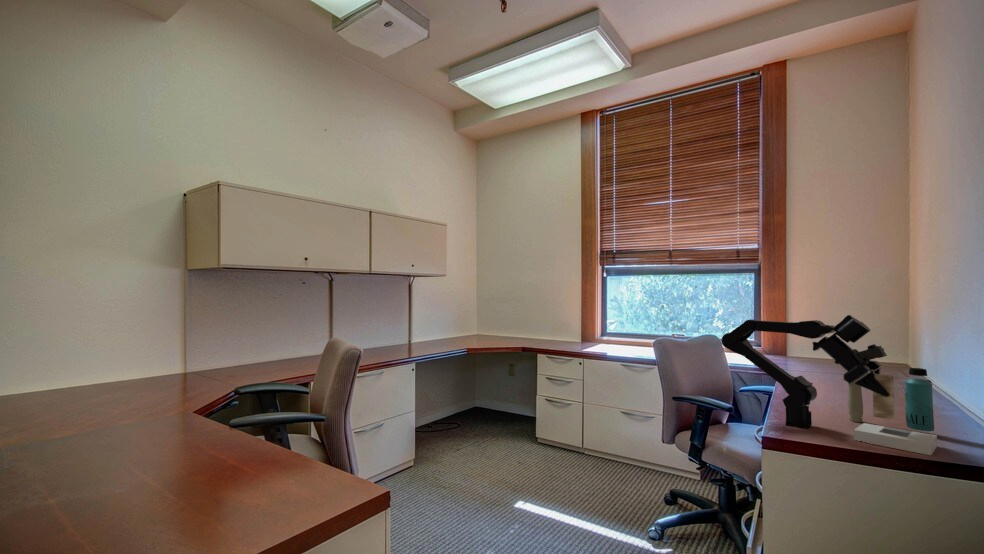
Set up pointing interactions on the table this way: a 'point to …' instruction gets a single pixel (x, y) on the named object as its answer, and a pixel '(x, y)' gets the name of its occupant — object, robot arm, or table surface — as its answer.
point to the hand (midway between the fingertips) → (889, 395)
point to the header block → (896, 438)
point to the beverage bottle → (919, 401)
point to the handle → (855, 402)
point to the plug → (884, 398)
